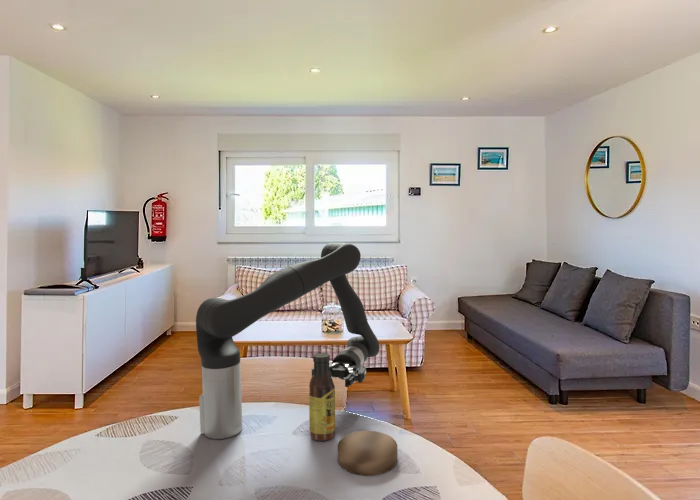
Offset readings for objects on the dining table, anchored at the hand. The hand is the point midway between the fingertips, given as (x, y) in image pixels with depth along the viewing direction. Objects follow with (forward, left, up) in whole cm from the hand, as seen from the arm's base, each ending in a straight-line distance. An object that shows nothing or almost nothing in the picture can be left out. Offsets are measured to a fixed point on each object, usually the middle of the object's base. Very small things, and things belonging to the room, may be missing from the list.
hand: (330, 381), depth 110 cm
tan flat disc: (+13, -14, -11) cm, 22 cm away
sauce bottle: (0, -7, -11) cm, 13 cm away
